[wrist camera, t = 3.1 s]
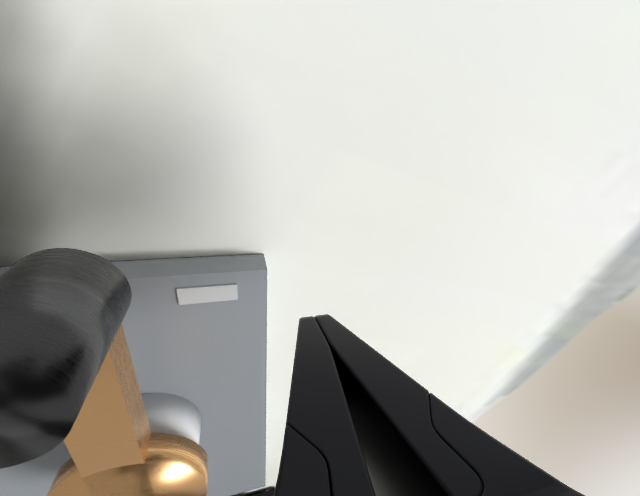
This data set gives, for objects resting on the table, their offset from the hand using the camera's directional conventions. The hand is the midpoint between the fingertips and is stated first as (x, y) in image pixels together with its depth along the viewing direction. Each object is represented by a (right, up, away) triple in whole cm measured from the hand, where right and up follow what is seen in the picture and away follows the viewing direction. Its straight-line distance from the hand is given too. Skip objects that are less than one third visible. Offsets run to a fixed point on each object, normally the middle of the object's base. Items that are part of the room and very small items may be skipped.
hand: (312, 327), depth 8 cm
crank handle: (-8, -4, +3) cm, 9 cm away
